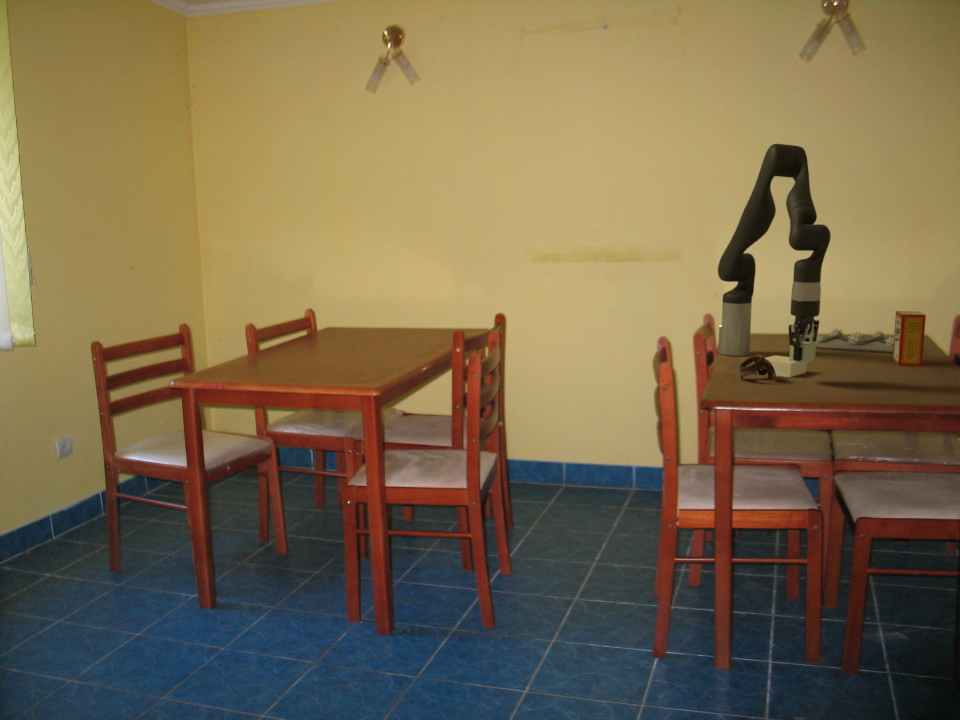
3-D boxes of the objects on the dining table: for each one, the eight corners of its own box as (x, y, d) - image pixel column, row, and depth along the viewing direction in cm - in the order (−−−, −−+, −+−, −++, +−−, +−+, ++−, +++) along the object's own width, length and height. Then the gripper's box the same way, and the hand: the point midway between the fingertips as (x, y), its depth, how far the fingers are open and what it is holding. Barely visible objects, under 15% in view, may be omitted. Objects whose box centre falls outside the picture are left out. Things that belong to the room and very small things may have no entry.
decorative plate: (908, 346, 311) (909, 326, 310) (904, 355, 293) (906, 334, 291) (816, 341, 325) (818, 322, 324) (808, 350, 306) (809, 329, 305)
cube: (789, 360, 248) (790, 343, 247) (797, 358, 252) (798, 340, 251) (806, 363, 245) (807, 345, 244) (814, 360, 248) (815, 342, 247)
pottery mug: (778, 386, 247) (764, 361, 245) (746, 398, 252) (732, 373, 250) (781, 368, 257) (768, 344, 256) (751, 380, 262) (738, 356, 260)
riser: (757, 373, 264) (758, 359, 263) (774, 368, 271) (774, 355, 270) (790, 377, 257) (790, 363, 256) (805, 372, 264) (806, 359, 263)
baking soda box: (892, 360, 282) (896, 309, 279) (915, 360, 280) (918, 310, 278) (898, 365, 273) (902, 313, 270) (921, 366, 271) (925, 313, 269)
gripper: (804, 294, 253) (801, 354, 256) (780, 299, 243) (777, 361, 246) (830, 296, 247) (826, 357, 250) (806, 301, 237) (803, 364, 241)
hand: (802, 358), depth 248 cm, fingers closed on cube, 5 cm apart
